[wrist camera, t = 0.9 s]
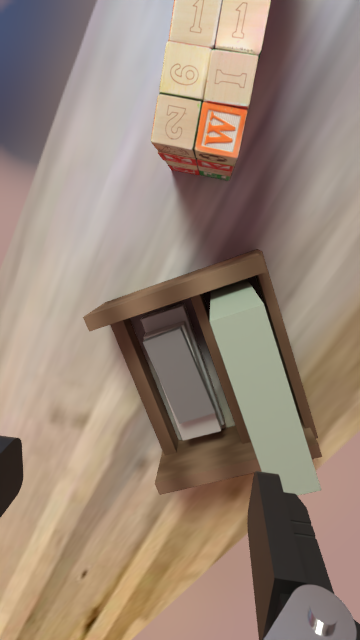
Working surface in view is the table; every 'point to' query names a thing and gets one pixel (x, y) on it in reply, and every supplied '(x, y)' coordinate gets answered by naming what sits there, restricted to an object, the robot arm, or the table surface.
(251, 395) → the tall sheet
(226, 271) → the rack
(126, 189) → the table surface
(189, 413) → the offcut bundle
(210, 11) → the stack of blocks
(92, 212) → the table surface
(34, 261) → the table surface
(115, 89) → the table surface
